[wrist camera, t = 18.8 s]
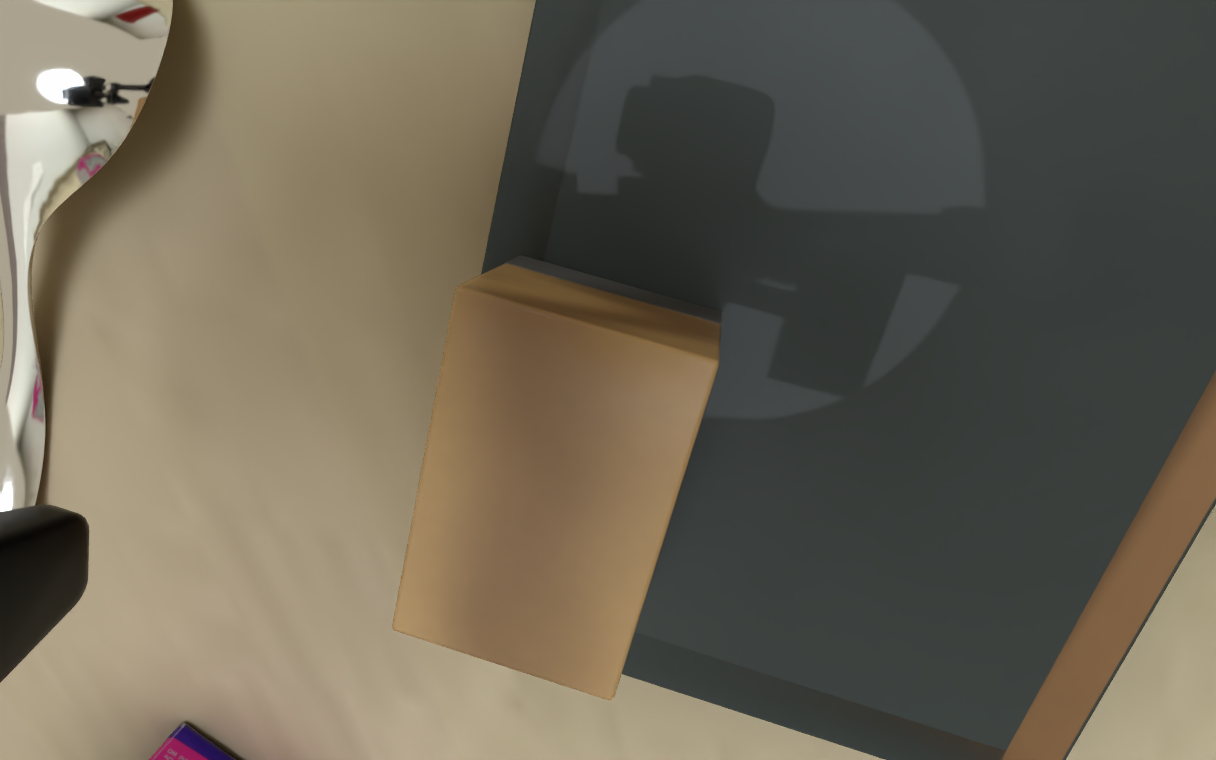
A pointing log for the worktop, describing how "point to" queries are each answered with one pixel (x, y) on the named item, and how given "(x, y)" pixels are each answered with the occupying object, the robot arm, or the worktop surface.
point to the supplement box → (189, 747)
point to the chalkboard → (901, 338)
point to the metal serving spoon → (56, 170)
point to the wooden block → (553, 468)
